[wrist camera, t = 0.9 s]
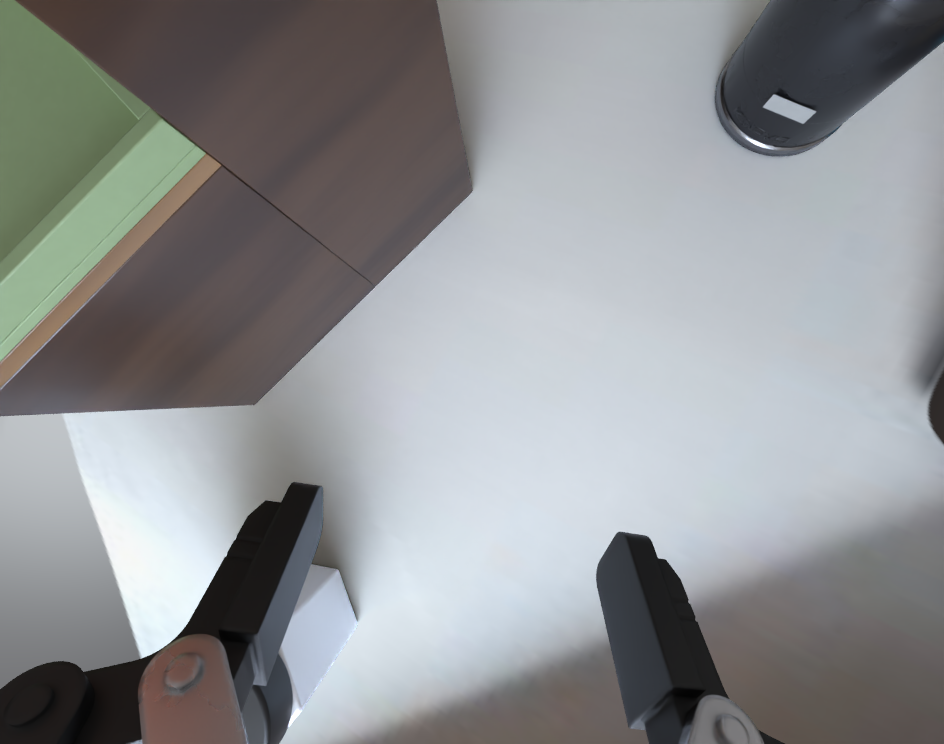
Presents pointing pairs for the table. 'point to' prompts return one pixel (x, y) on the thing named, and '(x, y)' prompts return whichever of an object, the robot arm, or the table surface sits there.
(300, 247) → the stand
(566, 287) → the table surface
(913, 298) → the table surface
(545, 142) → the table surface
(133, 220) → the tray
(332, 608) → the jar
